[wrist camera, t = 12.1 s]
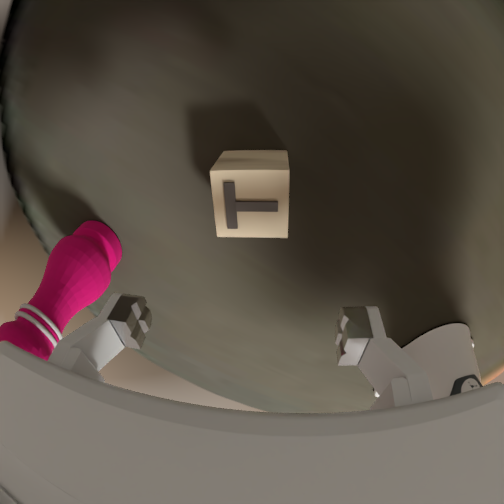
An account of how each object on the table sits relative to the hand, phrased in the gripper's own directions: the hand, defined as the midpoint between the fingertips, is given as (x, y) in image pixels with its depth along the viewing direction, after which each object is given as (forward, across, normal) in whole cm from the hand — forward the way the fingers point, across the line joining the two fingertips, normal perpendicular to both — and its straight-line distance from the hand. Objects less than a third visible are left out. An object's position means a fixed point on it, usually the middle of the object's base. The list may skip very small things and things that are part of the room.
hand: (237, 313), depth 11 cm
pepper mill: (+14, +18, +6) cm, 24 cm away
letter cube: (+14, +1, 0) cm, 14 cm away
